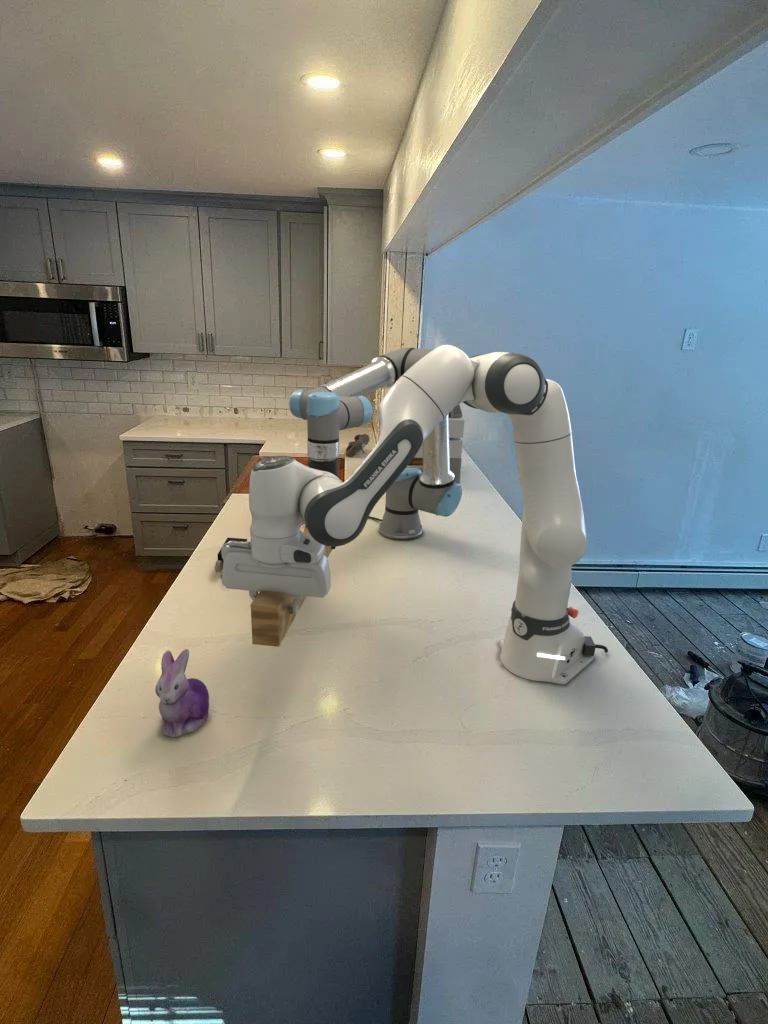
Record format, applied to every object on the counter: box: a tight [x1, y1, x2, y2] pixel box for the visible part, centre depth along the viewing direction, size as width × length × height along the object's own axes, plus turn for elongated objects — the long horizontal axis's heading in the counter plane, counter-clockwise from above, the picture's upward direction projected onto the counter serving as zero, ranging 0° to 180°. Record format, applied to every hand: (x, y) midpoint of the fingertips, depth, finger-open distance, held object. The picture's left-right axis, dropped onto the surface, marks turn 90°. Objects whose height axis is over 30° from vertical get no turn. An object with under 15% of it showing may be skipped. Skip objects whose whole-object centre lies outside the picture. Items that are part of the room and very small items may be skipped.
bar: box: [250, 527, 333, 648], centre depth 126 cm, size 53×5×8 cm, turn 173°
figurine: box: [154, 648, 210, 738], centre depth 104 cm, size 9×10×15 cm
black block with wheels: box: [214, 537, 248, 573], centre depth 166 cm, size 7×8×15 cm
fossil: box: [345, 433, 370, 458], centre depth 306 cm, size 22×10×15 cm
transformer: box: [407, 404, 465, 484], centre depth 268 cm, size 34×33×41 cm
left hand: (323, 545), depth 145 cm, fingers closed on bar, 5 cm apart
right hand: (277, 611), depth 108 cm, fingers closed on bar, 5 cm apart
